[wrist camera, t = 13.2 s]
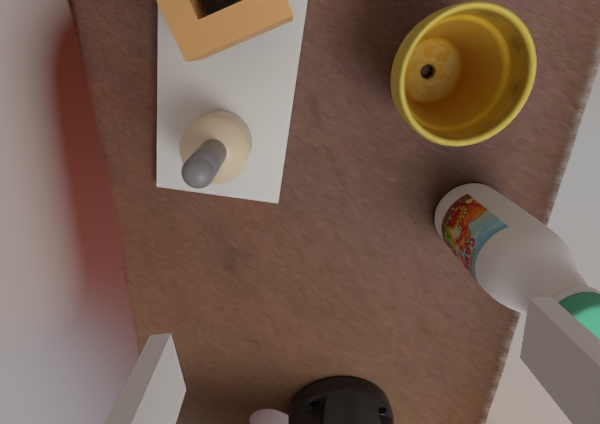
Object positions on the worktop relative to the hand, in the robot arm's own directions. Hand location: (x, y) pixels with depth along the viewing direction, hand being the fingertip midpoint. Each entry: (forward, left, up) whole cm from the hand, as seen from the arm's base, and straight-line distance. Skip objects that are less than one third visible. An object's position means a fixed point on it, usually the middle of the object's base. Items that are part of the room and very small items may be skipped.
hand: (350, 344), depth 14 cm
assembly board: (+7, +9, -28) cm, 31 cm away
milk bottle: (-4, -19, -29) cm, 34 cm away
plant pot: (+10, -10, -29) cm, 32 cm away
